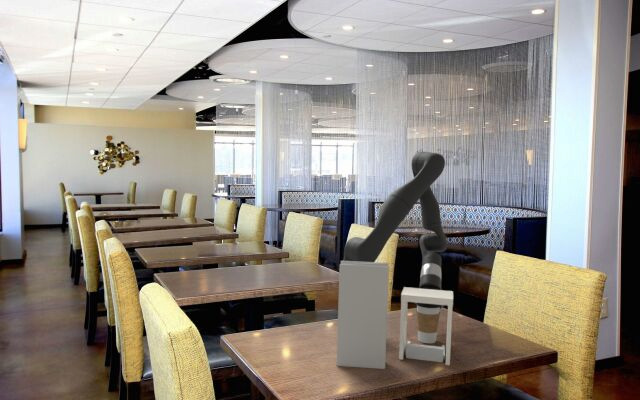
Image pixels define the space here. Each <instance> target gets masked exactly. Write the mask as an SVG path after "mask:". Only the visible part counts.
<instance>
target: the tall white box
mask: <svg viewBox="0 0 640 400" xmlns="http://www.w3.org/2000/svg"><path fill="white" fill-rule="evenodd" d="M338 271H339V274H338V275H339V277H338V306H337V307H338V308H337V330H336V331H337V332H336V333H337V339H336V367H350V368H367V369H379V370H380V369H382V370H386V356H387V355H386V353H387V351H386V350H387V332H388V331H387V329H388V327H387V326H388V307H389V305H388V304H389V303H388V302H389V301H388V300H389V282H390V281H389V279H390V277H389V276H390V265H389V262H377V261H375V262H358V261H344V260H340V264H339V269H338Z"/></svg>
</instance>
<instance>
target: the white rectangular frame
mask: <svg viewBox="0 0 640 400" xmlns="http://www.w3.org/2000/svg"><path fill="white" fill-rule="evenodd" d="M414 302H416V303H427V304H437V305H444V306H447V317H446V318H447V320H446V321H447V323H446V342H445V344H442V345H441V346H436V345H429V344H428V345H427V344H419V343H418V344H417V343H412V342H411V341H410V340H407V329H408V328H407V324H408V303H414ZM453 307H454V291H452V290H443V289H441V290H432V289H420V287H406V286H403V289H402V291H401V293H400V320H399V321H400V324H399V325H400V326H399V347H398V348H399V349H398V350H399V351H398V360H400V361H401V360H404V357H405V358H406V359H409V360H410V359H412V360H420V361H427V362H438V363H443V362H444V361H445V366H450V364H451V347H452V346H451V345H452V323H453V322H452V321H453Z"/></svg>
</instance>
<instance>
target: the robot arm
mask: <svg viewBox="0 0 640 400" xmlns="http://www.w3.org/2000/svg"><path fill="white" fill-rule="evenodd" d="M445 165H446V160H445V157H444V156H443V155H442V154H440V153H437V152H430V151H418V152H416V153H415V154H414V155H413V156H412V159H411V171H412V176H413V178H411V180H409V181H408V182H406V183H404V184H403V185H401V186H399V187H397V188H396V189H395V190H393V191H392V192H391V193H390V194H389V195H388V197H387V198H386V199H385V200H384V202H382V205H381V206H380V207H379V208H380V209H379V212H378V216H377V221H376V224H375V226H374V227H373V229H372V230H371V232H370V233H369V234H368V235H367V236H366V237H365V238H362V237H359V236H353V237H351V238H349V239H347V241H346V243H345V245H344V249H343V261H358V262H376V260H377V259H378V258H379V257H380V255H381V254H382V251H383V250H384V248H385V246H386V244H387V243H388V241H389V240H390V238H391V237H392V236H393V234H394V233H395V231H396V230H397V229H398V227H399V226H400V225H401V223H402V222H403V221H404V220H405V219H406V217H407V216H408V215H409V213H411V210H412V209H413V207H414V206H415V205H416V203H417V202H418V201H419V204H420V212H421V224H422V227H423V229H424V230H426V231H430V232H431V231H432V232H433V233H425V234H421V236H420V238H419V242H418V243H419V247H420V250H421V255H422V261H421V270H420V277H419V278H420V279H419V280H420V281H419V288H420V289H432V290H442V256H441V255H440V254H439V253H443V252H445V251H446V250H447V248H448V240H447V237H446V235H445V232H444V230H443V226H442V220H441V208H440V205H439V203H438V200H437V198H436V196H435V194H434V192H433V190H432V188H431V186H432V185H433V184H434V183H435V182H436V180H438V178H439V177H440V176H441V175H442V173H443V171H444V170H445V167H446V166H445ZM413 303H414V304H415V305H416V302H413ZM444 307H445V305H441V307H440V310H441V309H442V308H444Z"/></svg>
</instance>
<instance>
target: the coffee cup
mask: <svg viewBox="0 0 640 400" xmlns="http://www.w3.org/2000/svg"><path fill="white" fill-rule="evenodd" d="M415 305H416V324H417V341H418V342H419V343H422V344H428V345H429V344H435V343H436V341H437V335H438V327H439V321H440V315H441V314H440V313H441V312H440V310H441V309H440V307H441V305H437V304H427V303H416V304H415Z"/></svg>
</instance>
